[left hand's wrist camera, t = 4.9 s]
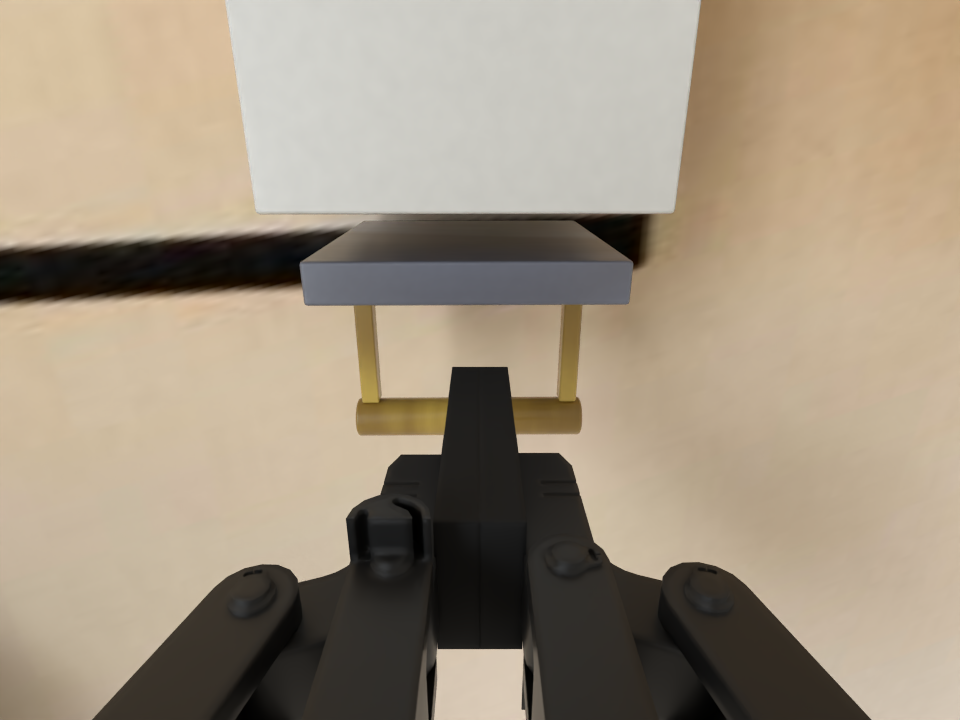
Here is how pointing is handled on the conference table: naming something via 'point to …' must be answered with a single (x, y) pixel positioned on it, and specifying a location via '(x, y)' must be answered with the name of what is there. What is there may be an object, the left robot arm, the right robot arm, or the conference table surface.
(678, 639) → the left robot arm
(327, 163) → the cabinet
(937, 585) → the conference table surface
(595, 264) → the drawer
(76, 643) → the conference table surface
